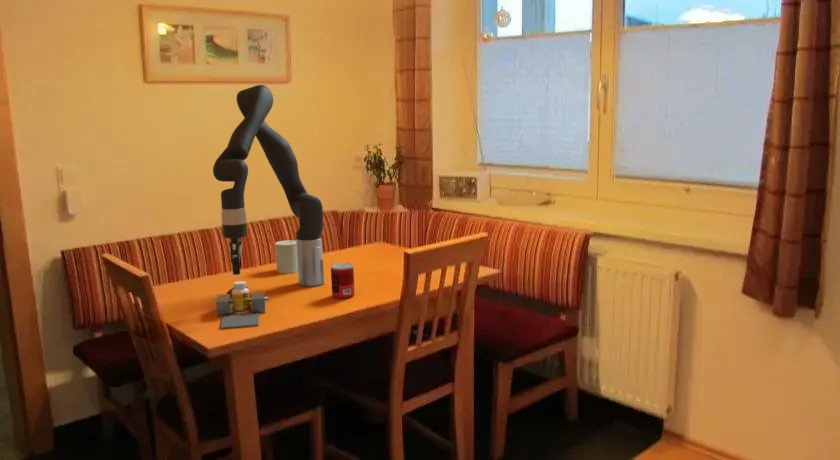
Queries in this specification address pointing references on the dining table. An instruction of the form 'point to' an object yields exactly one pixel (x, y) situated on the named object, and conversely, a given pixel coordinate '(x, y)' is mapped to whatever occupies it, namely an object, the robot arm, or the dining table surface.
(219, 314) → the vise
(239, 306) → the supplement bottle
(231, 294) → the brown rock
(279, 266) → the can
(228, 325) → the coaster
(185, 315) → the dining table surface
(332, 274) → the canned food
